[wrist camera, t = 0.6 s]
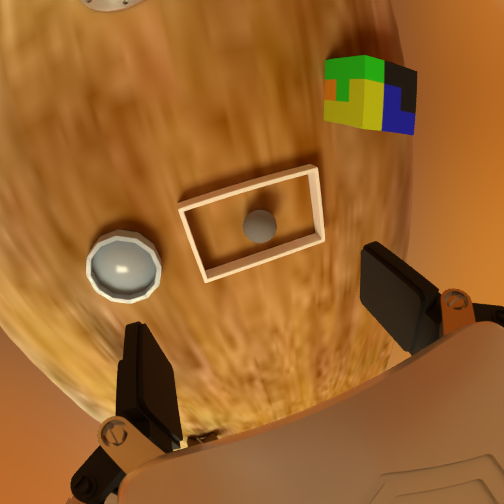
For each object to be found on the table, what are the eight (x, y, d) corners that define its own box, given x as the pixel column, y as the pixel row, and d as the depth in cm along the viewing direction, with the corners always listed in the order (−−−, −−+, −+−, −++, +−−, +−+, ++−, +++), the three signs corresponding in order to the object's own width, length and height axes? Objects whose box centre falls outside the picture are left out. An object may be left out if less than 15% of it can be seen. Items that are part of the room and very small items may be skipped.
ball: (236, 210, 44) (245, 223, 39) (267, 200, 44) (278, 212, 40) (243, 238, 46) (252, 253, 42) (272, 228, 47) (284, 242, 43)
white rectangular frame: (177, 203, 40) (178, 209, 38) (310, 163, 43) (317, 167, 41) (202, 274, 47) (205, 283, 45) (318, 234, 50) (325, 241, 48)
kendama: (201, 450, 84) (180, 433, 73) (225, 443, 86) (209, 425, 75) (205, 463, 79) (184, 449, 68) (230, 456, 81) (214, 442, 70)
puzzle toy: (372, 124, 43) (413, 135, 34) (323, 120, 40) (362, 128, 32) (374, 70, 38) (417, 71, 29) (324, 60, 35) (364, 55, 27)
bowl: (76, 245, 38) (73, 252, 36) (144, 219, 40) (143, 225, 38) (109, 303, 45) (108, 311, 43) (171, 282, 46) (172, 289, 45)
